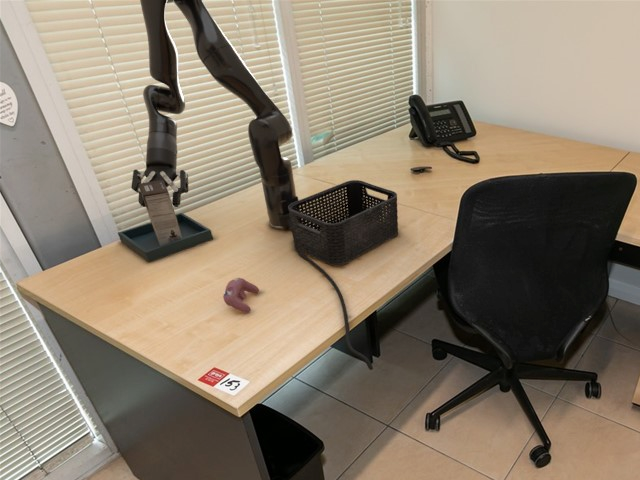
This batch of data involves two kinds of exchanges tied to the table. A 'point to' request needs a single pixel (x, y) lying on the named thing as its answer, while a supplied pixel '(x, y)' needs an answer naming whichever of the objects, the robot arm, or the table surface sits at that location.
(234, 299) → the video game controller
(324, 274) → the robot arm
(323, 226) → the storage bin
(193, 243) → the tray
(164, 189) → the coffee box
